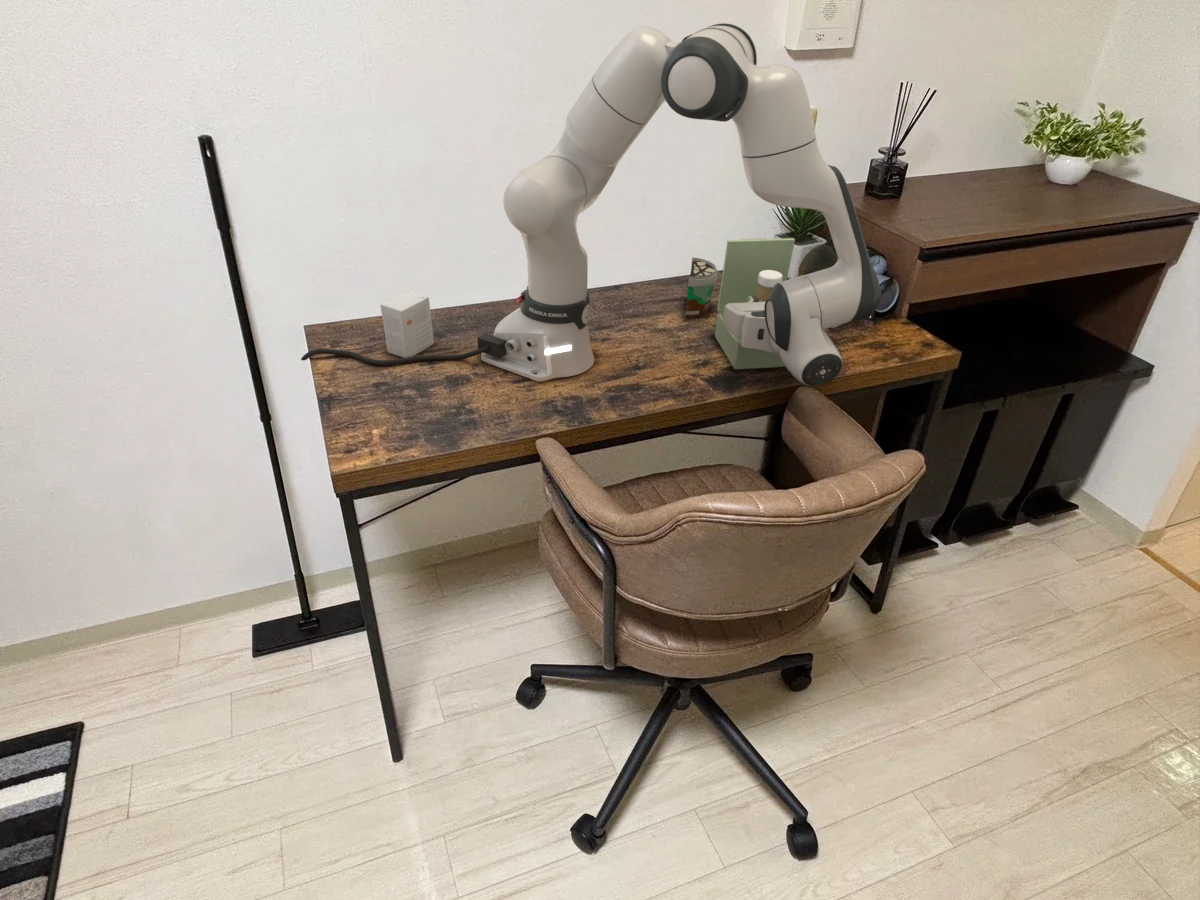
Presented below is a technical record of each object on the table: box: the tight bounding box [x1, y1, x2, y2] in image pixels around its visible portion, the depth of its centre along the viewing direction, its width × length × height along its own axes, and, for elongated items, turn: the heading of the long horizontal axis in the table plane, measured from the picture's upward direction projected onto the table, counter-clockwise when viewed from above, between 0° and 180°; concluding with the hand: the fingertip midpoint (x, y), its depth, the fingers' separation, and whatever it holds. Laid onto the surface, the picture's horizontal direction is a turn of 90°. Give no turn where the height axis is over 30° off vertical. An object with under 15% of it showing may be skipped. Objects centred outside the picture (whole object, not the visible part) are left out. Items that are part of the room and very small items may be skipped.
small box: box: [380, 290, 435, 358], centre depth 152 cm, size 8×6×10 cm
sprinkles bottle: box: [756, 270, 783, 302], centre depth 152 cm, size 5×5×14 cm
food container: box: [684, 257, 719, 319], centre depth 171 cm, size 12×6×10 cm, turn 171°
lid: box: [717, 237, 796, 313], centre depth 158 cm, size 15×14×5 cm
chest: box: [714, 312, 786, 370], centre depth 157 cm, size 15×14×5 cm
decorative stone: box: [797, 243, 838, 277], centre depth 172 cm, size 10×6×15 cm, turn 104°
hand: (765, 299), depth 152 cm, fingers closed on sprinkles bottle, 4 cm apart
